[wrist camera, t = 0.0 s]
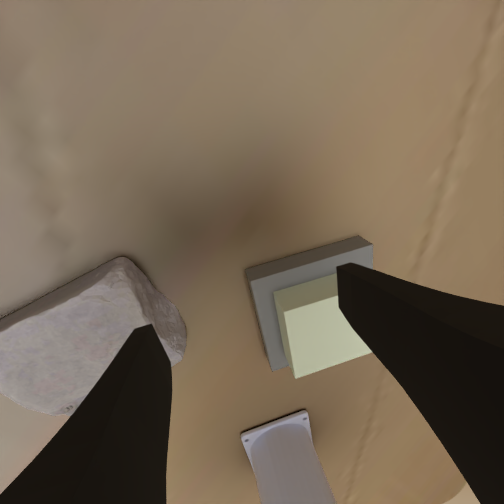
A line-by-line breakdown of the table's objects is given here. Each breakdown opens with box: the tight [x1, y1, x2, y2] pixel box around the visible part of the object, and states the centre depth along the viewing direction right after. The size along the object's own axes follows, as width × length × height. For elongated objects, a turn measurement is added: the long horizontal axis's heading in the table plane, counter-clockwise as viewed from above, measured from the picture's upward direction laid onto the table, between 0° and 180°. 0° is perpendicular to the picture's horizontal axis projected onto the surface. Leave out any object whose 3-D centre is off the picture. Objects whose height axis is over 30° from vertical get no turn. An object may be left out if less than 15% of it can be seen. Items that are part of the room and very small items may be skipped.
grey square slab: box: [245, 236, 373, 372], centre depth 23 cm, size 10×10×2 cm
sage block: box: [273, 273, 372, 379], centre depth 21 cm, size 7×7×2 cm
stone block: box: [0, 257, 186, 416], centre depth 19 cm, size 12×5×10 cm
